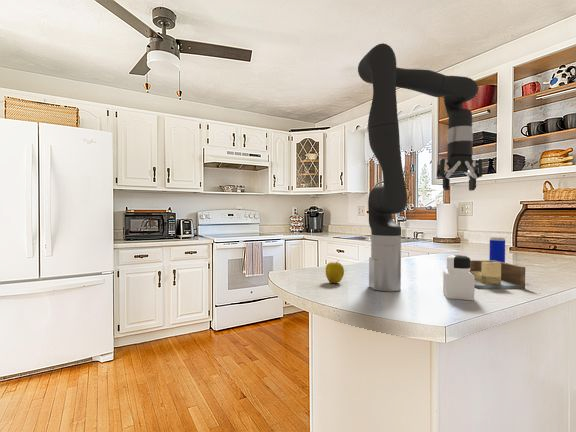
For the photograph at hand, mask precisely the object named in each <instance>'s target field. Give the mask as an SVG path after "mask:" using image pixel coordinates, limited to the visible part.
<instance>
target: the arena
mask: <svg viewBox="0 0 576 432" xmlns="http://www.w3.org/2000/svg"><path fill="white" fill-rule="evenodd" d="M482 262H499V261H495V260H489V259H488V260H487V259H486V260H484V259H483V260H482V259H481V260H480V259H479V260H478V259H475V260H473V259H470V271H481V267H482ZM499 263H501V284H484V283H481V282H478V281H475V285H474V289H479V290H480V289H481V290H482V289H484V290H485V289H486V290H487V289H489V290H491V289H492V290H493V289H494V290H495V289H496V290H499V289H504V290H505V289H507V290H508V289H509V290H511V289H516V290H517V289H518V290H519V289H521V290H523V289H524V290H525V289H526V267H525V266H522V265H517V264H512V263H508V262H505V263H504V262H499Z"/></svg>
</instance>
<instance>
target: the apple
mask: <svg viewBox="0 0 576 432" xmlns="http://www.w3.org/2000/svg"><path fill="white" fill-rule="evenodd" d="M325 276H326V278H327V281H328V283H330V284H338V283H340V282H342V280H343V277H344V276H345V269H344V266H343V264H341V262H339V260H337V261H335V262H328V263H327V264H326V266H325Z"/></svg>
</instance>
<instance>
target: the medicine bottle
mask: <svg viewBox="0 0 576 432" xmlns="http://www.w3.org/2000/svg"><path fill="white" fill-rule="evenodd" d="M470 260H471V258H470V257H468V256H466V255H461V254H460V255H459V254H451V255H449V256H447V257H446V269H443V272H442V274H443V275H442V277H443V279H442V293H443V296H445V298H446V299H450V300H461V301H462V300H463V301H475V288H474V285H475V276H474V275H473V274H472V273H470V272H469V271H470Z"/></svg>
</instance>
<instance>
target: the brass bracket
mask: <svg viewBox="0 0 576 432" xmlns="http://www.w3.org/2000/svg"><path fill="white" fill-rule="evenodd" d="M469 272H470V273H472V274H473V275H474V276H475V281H478V282H481V283H484V284H501V263H499V262H482V267H481V271H469Z"/></svg>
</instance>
